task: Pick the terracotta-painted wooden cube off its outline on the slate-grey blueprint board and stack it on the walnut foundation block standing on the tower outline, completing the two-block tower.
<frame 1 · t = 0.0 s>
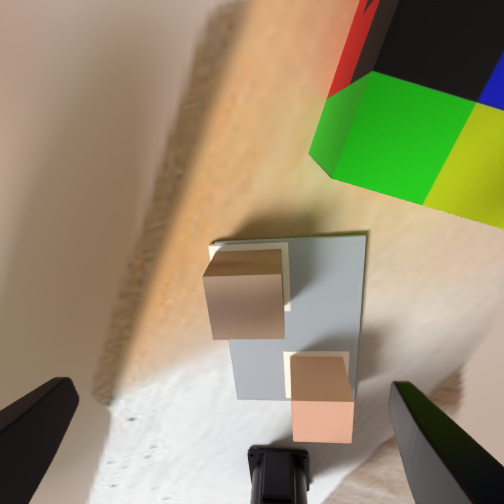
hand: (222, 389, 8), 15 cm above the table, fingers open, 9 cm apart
blueprint board: (291, 327, 25), on the table
puzzle toy: (415, 92, 18), on the table
walnut foundation: (250, 279, 23), resting on blueprint board
terracotta block: (315, 376, 26), resting on blueprint board
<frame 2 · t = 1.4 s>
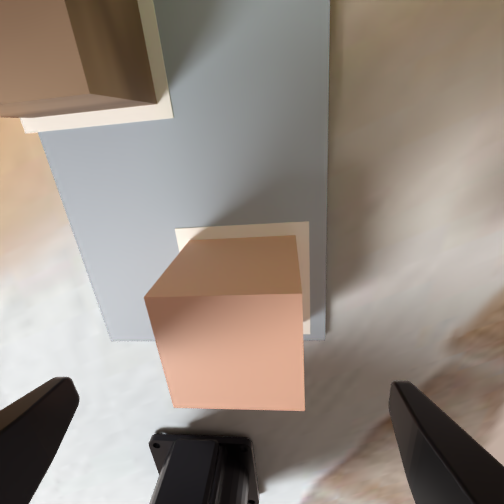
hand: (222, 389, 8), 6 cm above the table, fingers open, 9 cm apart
blueprint board: (186, 172, 12), on the table
walnut foundation: (70, 28, 10), resting on blueprint board
terracotta block: (246, 284, 13), resting on blueprint board
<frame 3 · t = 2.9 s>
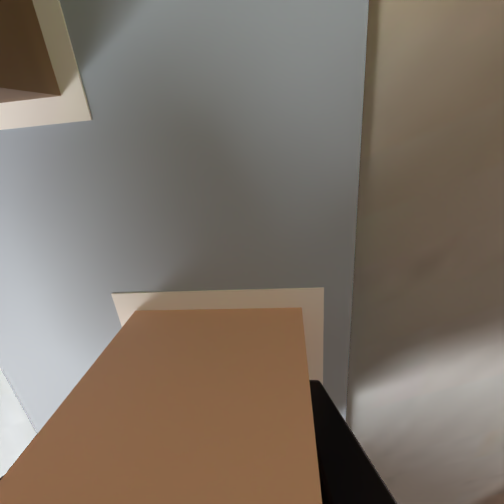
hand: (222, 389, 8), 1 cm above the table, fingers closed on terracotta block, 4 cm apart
blueprint board: (126, 207, 7), on the table
terracotta block: (225, 373, 9), resting on blueprint board, touching gripper
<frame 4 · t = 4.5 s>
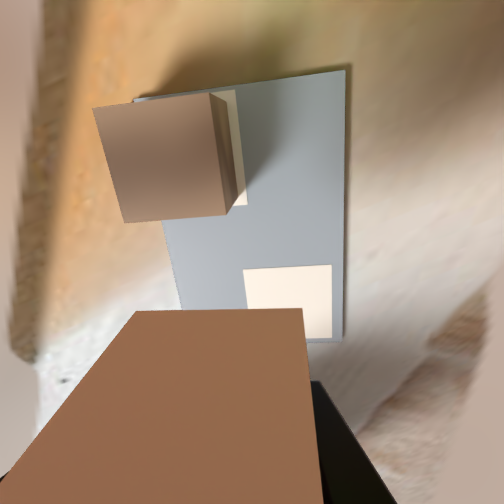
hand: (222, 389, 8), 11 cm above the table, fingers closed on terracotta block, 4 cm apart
blueprint board: (252, 234, 18), on the table
walnut foundation: (189, 156, 16), resting on blueprint board
terracotta block: (226, 373, 9), point 11 cm above the table, touching gripper
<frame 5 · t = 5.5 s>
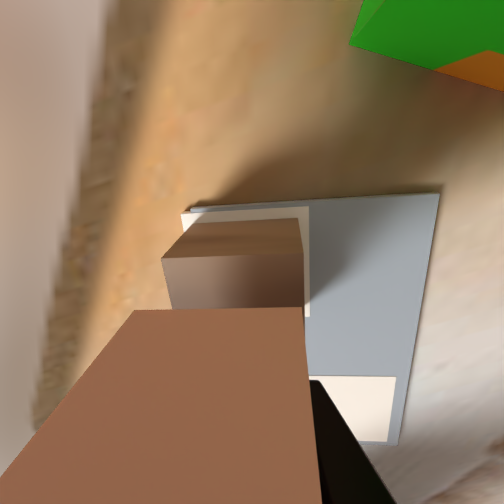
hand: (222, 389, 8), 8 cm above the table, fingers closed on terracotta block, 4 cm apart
blueprint board: (309, 341, 17), on the table
walnut foundation: (248, 268, 15), resting on blueprint board
terracotta block: (225, 373, 9), point 7 cm above the table, touching gripper
when the fingers open (6 cm above the table, at t = 6.1 s): terracotta block drops 1 cm, resting on walnut foundation.
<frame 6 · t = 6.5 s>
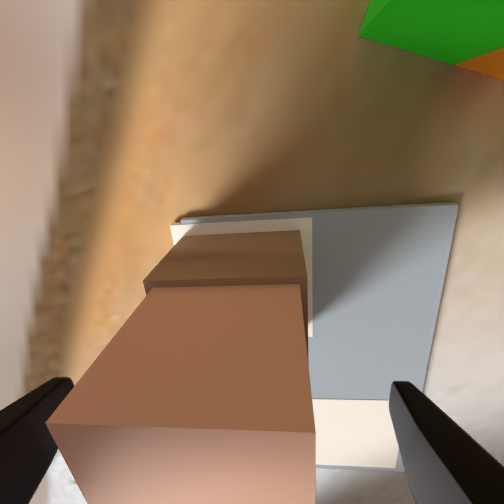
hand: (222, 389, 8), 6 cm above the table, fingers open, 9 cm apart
blueprint board: (312, 361, 15), on the table
walnut foundation: (245, 284, 13), resting on blueprint board, touching terracotta block
terracotta block: (232, 344, 10), point 4 cm above the table, touching walnut foundation
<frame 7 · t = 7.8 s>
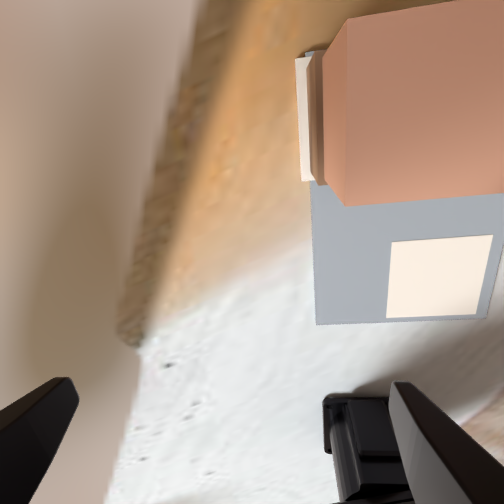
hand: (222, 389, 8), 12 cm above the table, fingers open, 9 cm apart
blueprint board: (406, 203, 17), on the table
walnut foundation: (357, 117, 15), resting on blueprint board, touching terracotta block
terracotta block: (381, 115, 11), point 4 cm above the table, touching walnut foundation
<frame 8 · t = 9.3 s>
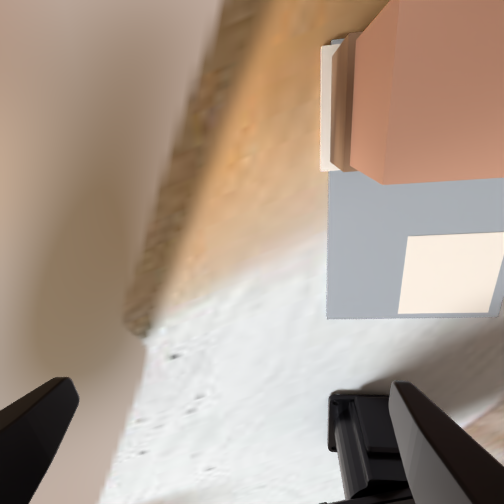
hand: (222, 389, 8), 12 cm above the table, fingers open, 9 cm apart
blueprint board: (424, 197, 17), on the table
walnut foundation: (380, 107, 15), resting on blueprint board, touching terracotta block
terracotta block: (412, 102, 11), point 4 cm above the table, touching walnut foundation
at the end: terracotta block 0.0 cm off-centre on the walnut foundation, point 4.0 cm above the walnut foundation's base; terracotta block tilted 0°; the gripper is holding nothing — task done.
